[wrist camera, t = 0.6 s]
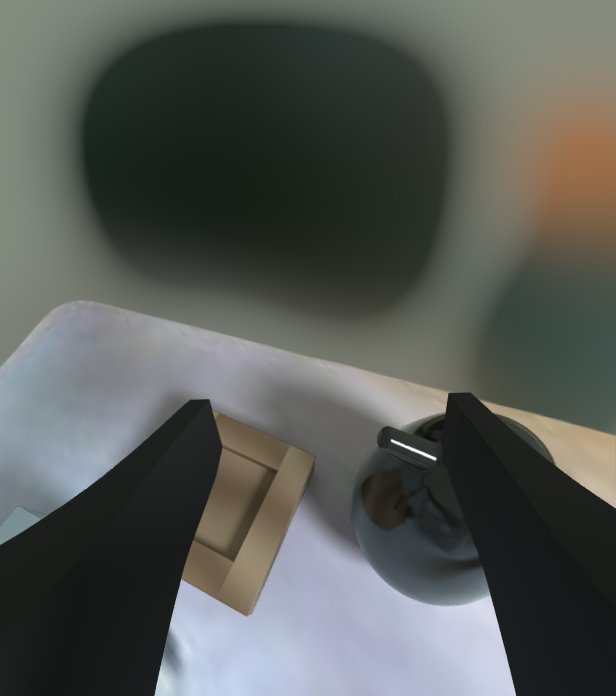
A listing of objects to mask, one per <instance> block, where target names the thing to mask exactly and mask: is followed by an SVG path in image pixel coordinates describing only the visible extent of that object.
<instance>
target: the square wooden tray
mask: <svg viewBox="0 0 616 696" xmlns="http://www.w3.org/2000/svg"><path fill="white" fill-rule="evenodd" d="M212 411H213V414H214V418H215V421H216V425H217V428H218V432H219V435H220V439H221V442H222V446H223V448H222V453H221V457H220V462H219V467H218V471H217V475H216V479H215V481H214V484H213V487H212V490H211V493H210V496H209V498H208V501H207V504H206V507H205V509H204V512H203V515H202V518H201V520H200V523H199V526H198V529H197V531H196V534H195V537H194V539H193V542H192V545H191V548H190V551H189V554H188V557H187V560H186V563H185V567H184V570H183V574H182V578H181V579H182V580H184V581H185V582H187V583H189V584H191V585H192V586H194V587H196V588H198V589H199V590H201V591H203V592H205V593H206V594H208V595H210V596H212V597H213V598H215V599H217V600H219V601H220V602H222V603H224V604H226V605H227V606H229V607H231V608H233V609H234V610H236V611H238V612H240V613H241V614H243V615H245V616H248V615H250V614H252V613H253V610H254V608H255V606H256V603H257V601H258V599H259V596H260V594H261V592H262V589H263V587H264V585H265V582H266V580H267V577H268V575H269V573H270V570H271V568H272V566H273V563H274V561H275V559H276V556H277V554H278V552H279V549H280V547H281V545H282V542H283V540H284V538H285V535H286V533H287V531H288V528H289V526H290V524H291V521H292V519H293V517H294V514H295V512H296V510H297V507H298V505H299V503H300V500H301V498H302V496H303V493H304V491H305V489H306V486H307V484H308V481H309V479H310V477H311V474H312V472H313V469H314V464H315V458H316V456H314V455H312V454H309V453H307V452H305V451H303V450H300V449H298V448H296V447H294V446H292V445H289V444H287V443H285V442H283V441H281V440H278V439H276V438H274V437H272V436H269V435H267V434H265V433H263V432H261V431H258V430H256V429H254V428H252V427H249V426H247V425H245V424H243V423H241V422H238V421H236V420H234V419H232V418H230V417H227V416H225V415H223V414H221V413H218V412H216V411H214V410H212Z"/></svg>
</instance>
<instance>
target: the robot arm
mask: <svg viewBox="0 0 616 696" xmlns="http://www.w3.org/2000/svg"><path fill="white" fill-rule="evenodd" d="M441 446H442V451H443V455H444V459H445V463H446V467H447V471H448V475H449V478H450V481H451V484H452V486H453V489H454V492H455V494H456V497H457V500H458V502H459V505H460V508H461V510H462V513H463V515H464V518H465V521H466V523H467V526H468V529H469V531H470V534H471V536H472V539H473V542H474V544H475V547H476V550H477V552H478V555H479V558H480V561H481V564H482V567H483V570H484V573H485V577H486V581H487V584H488V588H489V591H490V595H491V598H492V602H493V606H494V609H495V613H496V617H497V621H498V624H499V628H500V632H501V636H502V640H503V644H504V647H505V651H506V655H507V659H508V663H509V667H510V672H511V676H512V680H513V684H514V688H515V692H516V696H616V508H614V507H613V506H611V505H610V504H608V503H607V502H605V501H604V500H602V499H601V498H599V497H598V496H596V495H595V494H593V493H592V492H591V491H589V490H588V489H586V488H585V487H583V486H582V485H580V484H579V483H578V482H576V481H575V480H573V479H572V478H571V477H569V476H568V475H567V474H565V473H564V472H563V471H561V470H560V469H559V468H558V467H556V466H555V465H554V464H552V463H551V462H550V461H549V460H547V459H546V458H545V457H543V456H542V455H541V454H540V453H538V452H537V451H536V450H535V449H534V448H532V447H531V446H530V445H529V444H528V443H526V442H525V441H524V440H523V439H522V438H521V437H519V436H518V435H517V434H516V433H515V432H514V431H512V430H511V429H510V428H509V427H508V426H507V425H506V424H505V423H503V422H502V421H501V420H500V419H499V418H498V417H497V416H496V415H495V414H493V413H492V412H491V411H490V410H489V409H488V408H487V407H486V406H485V405H484V404H483V403H481V402H480V401H479V400H478V399H477V398H476V397H475V396H474V395H473V394H472V393H449V394H448V400H447V407H446V414H445V420H444V427H443V433H442V440H441ZM222 448H223V446H222V442H221V439H220V435H219V432H218V428H217V425H216V421H215V418H214V414H213V411H212V407H211V404H210V400H209V399H201V400H190V401H188V402H187V403H186V404H185V405H184V406H183V407H181V408H180V409H179V410H178V411H177V412H176V413H175V414H174V415H173V416H172V417H171V418H170V419H168V420H167V421H166V422H165V423H164V424H163V425H162V426H161V427H160V428H159V429H158V430H156V431H155V432H154V433H153V434H152V435H151V436H150V437H149V438H148V439H147V440H145V441H144V442H143V443H142V444H141V445H140V446H139V447H138V448H136V449H135V450H134V451H133V452H132V453H130V454H129V455H128V456H127V457H126V458H124V459H123V460H122V461H121V462H120V463H118V464H117V465H116V466H115V467H114V468H112V469H111V470H110V471H109V472H108V473H106V474H105V475H104V476H103V477H101V478H100V479H99V480H97V481H96V482H95V483H93V484H92V485H91V486H89V487H88V488H87V489H85V490H84V491H83V492H81V493H80V494H78V495H77V496H76V497H74V498H73V499H71V500H70V501H69V502H67V503H66V504H64V505H63V506H61V507H60V508H58V509H57V510H55V511H54V512H52V513H50V514H49V515H47V516H46V517H44V518H43V519H41V520H40V521H38V522H36V523H35V524H33V525H32V526H30V527H29V528H27V529H26V530H24V531H23V532H21V533H19V534H18V535H16V536H14V537H13V538H11V539H9V540H7V541H6V542H4V543H2V544H1V545H0V696H154V695H155V689H156V685H157V680H158V675H159V671H160V666H161V662H162V657H163V652H164V648H165V643H166V639H167V634H168V630H169V626H170V622H171V618H172V614H173V609H174V605H175V601H176V597H177V593H178V590H179V586H180V582H181V578H182V574H183V570H184V567H185V563H186V560H187V557H188V554H189V551H190V548H191V545H192V542H193V539H194V537H195V534H196V531H197V529H198V526H199V523H200V520H201V518H202V515H203V512H204V509H205V507H206V504H207V501H208V498H209V496H210V493H211V490H212V487H213V484H214V481H215V479H216V475H217V471H218V467H219V462H220V457H221V453H222Z"/></svg>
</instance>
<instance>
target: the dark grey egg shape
mask: <svg viewBox="0 0 616 696" xmlns="http://www.w3.org/2000/svg"><path fill="white" fill-rule="evenodd" d="M445 414H446V412H444V413H439V414H435V415H432V416H428V417H425V418H422V419H419V420H417V421H414V422H412V423H409V424H407V425H405V426H403V427H401V428H399V429H395V428H392V427H389V426H386V427H383V428H382V429H381V430H380V431H379V433H378V436H377V445H376V446H375V447H374V448H373V449H372V450H371V451H370V452H369V453H368V455H367V456H366V457H365V459H364V460H363V462H362V463H361V465H360V467H359V469H358V471H357V473H356V475H355V478H354V481H353V485H352V490H351V497H350V513H351V521H352V526H353V530H354V533H355V536H356V539H357V542H358V544H359V546H360V548H361V550H362V552H363V554H364V556H365V558H366V559H367V561H368V562H369V564H370V565H371V566H372V568H373V569H374V570H375V571H376V573H377V574H378V575H379V576H380V577H381V578H382V579H383V580H384V581H385V582H386V583H387V584H389V585H390V586H391V587H392V588H394V589H395V590H397V591H398V592H400V593H401V594H403V595H405V596H407V597H409V598H411V599H413V600H416V601H418V602H421V603H425V604H429V605H435V606H458V605H464V604H469V603H472V602H475V601H478V600H481V599H483V598H485V597H488V596H490V591H489V588H488V584H487V581H486V577H485V573H484V570H483V567H482V564H481V561H480V558H479V555H478V552H477V550H476V547H475V544H474V542H473V539H472V536H471V534H470V531H469V529H468V526H467V523H466V521H465V518H464V515H463V513H462V510H461V508H460V505H459V502H458V500H457V497H456V494H455V492H454V489H453V486H452V484H451V481H450V478H449V475H448V471H447V467H446V463H445V459H444V455H443V451H442V446H441V440H442V433H443V427H444V420H445ZM493 414H495V413H493ZM495 415H496V416H497V417H498V418H499V419H500V420H501V421H502V422H503V423H505V424H506V425H507V426H508V427H509V428H510V429H511V430H512V431H514V432H515V433H516V434H517V435H518V436H519V437H521V438H522V439H523V440H524V441H525V442H526V443H528V444H529V445H530V446H531V447H532V448H534V449H535V450H536V451H537V452H538V453H540V454H541V455H542V456H543V457H545V458H546V459H547V460H549V461H550V462H551V463H552V464H554V465H555V466H556V467H557V465H556V463H555V460H554V458H553V456H552V455H551V453H550V451H549V450H548V448H547V447H546V446H545V444H544V443H543V442H542V441H541V440H540V439H539V438H538V437H537V436H536V435H535V434H534V433H533V432H532V431H531V430H529V429H528V428H527V427H525V426H524V425H522V424H520V423H519V422H517V421H515V420H513V419H510V418H508V417H505V416H502V415H499V414H495Z"/></svg>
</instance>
